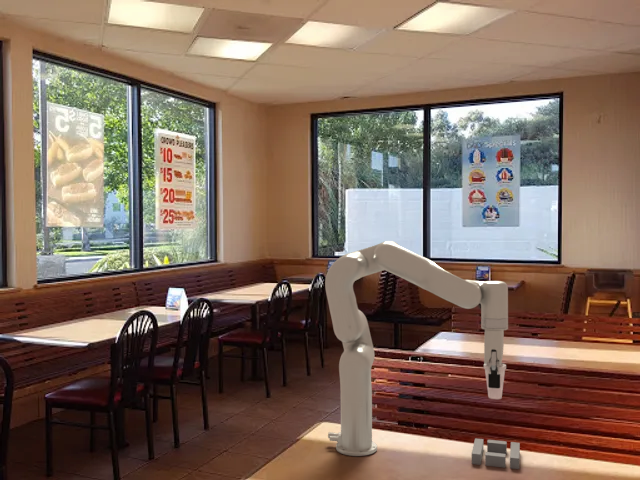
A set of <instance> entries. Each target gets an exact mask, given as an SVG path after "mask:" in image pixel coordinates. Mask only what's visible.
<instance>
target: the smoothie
mask: <svg viewBox="0 0 640 480" xmlns="http://www.w3.org/2000/svg"><path fill="white" fill-rule="evenodd" d="M496 356H497V351H496ZM496 363H498V362H496ZM483 369H484V373H485V380H486V388H487V396H488V399H491V400H501V399H502V398H503V397H502V396H503V390H504V389H503V388H504V382H505V381H504V380H505V373H506V369H507V364H505V363H503V362H502V363H501V364H500V365H499V374H500V388H489V387H488V373H489V362H488V363H487V364H485V363H484V364H483Z"/></svg>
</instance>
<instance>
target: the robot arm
mask: <svg viewBox="0 0 640 480" xmlns="http://www.w3.org/2000/svg"><path fill="white" fill-rule="evenodd" d="M382 271H386V272H388V273H391V274H393V275H395V276H397V277H399V278H401V279H403V280H405V281H407V282H409V283H411V284H413V285H415V286H417V287H419V288H421V289H423V290H426V291H427V292H429V293H431V294H433V295H435V296H437V297H439V298H441V299H443V300H445V301H447V302H450V303H452V304H454V305H456V306H458V307H460V308H463V309H467V310H469V309H474V308H476V307H477V306H478V305H479V304H480V311H481V312H480V313H481V314H480V315H481V316H480V319H481V321H480V324H481V325H480V326H481V327H480V329H482V330H484V337H483V338H484V340H483V341H484V342H483V343H484V344H483V346H484V347H483V348H484V349H483V350H484V351H483V352H484V353H483V355H484V357H483V359H484V360H483V363H484V364H487V363H488V362H489V373H488V387H489V388H500V374H499V365H500V364H501V363H503V356H504V344H505V343H504V342H505V341H504V339H505V338H504V337H505V336H504V335H505V333H504V331H507V330H509V288H508V287H509V286H508V284H507V283H506V282H505V281H501V280H487V281H479V280H471V279H464V278H461V277H460V276H457V275H456V274H452V273H451V272H449V271H447V270H445V269H443V268H442V267H440V266H439V265H438V264H436V263H435V261H433V260H431V259H429V258H427V257H425V256H422V255H420V254H418V253H415V252H413V251H412V250H409V249H407V248H405V247H403V246H401V245H400V244H398V243H397V242H396V241H394V240H386V241H383V242H380V243H378V244H374V245H372V246H369V247H365V248H363V249H359V250H356V251H352V252H348V253H345V254H344V255H341V256H339V258H337V259H336V260H335V261H334V262H333V263H332V264H331V266H330V267H329V269H328V270H327V273H326V275H325V280H324V281H325V282H324V284H325V285H324V286H325V293H326V299H327V303H328V308H329V313H330V317H331V322H332V328H333V332H334V335H335V336H336V338H337V340H339V341H341V343H342V347H343V352H342V353H341V356H340V359H339V362H338V363H339V364H338V372H339V383H340V384H339V385H340V387H339V388H340V431H338V433H337V432H333V431H329V432H328V433H327V434H328V435H327V438H328V439H329V441H330V442H336V444H335V449H336V451H337V452H338V453H339V454H343V455H345V456H349V457H351V456H352V457H363V456H369V455H372V454H374V453H375V452H376V451H378V445H377V443H376V442H375V441H373V397H372V396H373V393H372V392H373V391H372V390H373V387H372V366H373V363H374V362H375V355H376V353H375V347H374V344H373V340H372V336H371V332H370V327H369V323H368V322H369V321H368V319H367V317H366V315H365V314H364V312H363V311H361V310H360V309H359V307H358V303H357V297H356V294H355V291H354V283H355V281H357V280H359V279H361V278H363V277H366V276H370V275H373V274H376V273H377V274H378V273H379V272H382ZM496 351H497V356H496ZM496 362H498V363H496Z"/></svg>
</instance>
